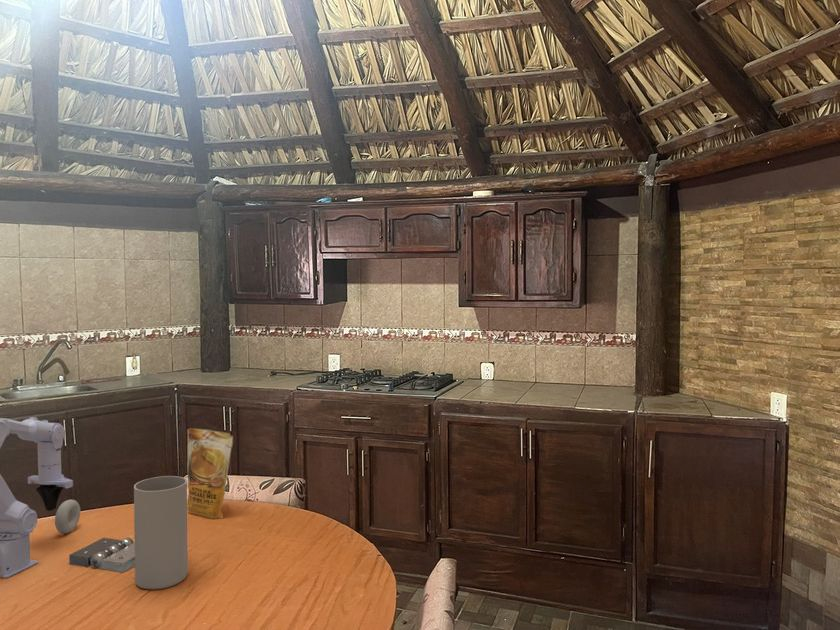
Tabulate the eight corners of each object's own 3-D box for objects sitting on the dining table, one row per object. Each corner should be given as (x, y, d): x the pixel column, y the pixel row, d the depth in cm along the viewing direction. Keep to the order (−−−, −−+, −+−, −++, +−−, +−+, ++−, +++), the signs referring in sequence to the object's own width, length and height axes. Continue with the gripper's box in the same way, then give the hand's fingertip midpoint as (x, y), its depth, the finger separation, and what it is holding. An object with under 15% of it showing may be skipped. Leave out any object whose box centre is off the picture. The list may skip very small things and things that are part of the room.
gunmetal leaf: (100, 568, 161) (100, 555, 161) (69, 563, 164) (69, 550, 163) (133, 550, 172) (133, 538, 172) (103, 546, 175) (103, 533, 175)
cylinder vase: (137, 572, 159) (136, 478, 158) (187, 565, 163) (187, 474, 163) (132, 594, 147) (131, 493, 146) (187, 586, 152) (186, 488, 151)
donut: (63, 539, 180) (63, 506, 179) (52, 538, 180) (51, 506, 180) (83, 526, 190) (82, 494, 189) (72, 526, 190) (71, 494, 190)
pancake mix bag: (195, 505, 209) (194, 425, 208) (235, 515, 200) (235, 431, 199) (179, 511, 203) (178, 429, 202) (220, 522, 194) (219, 436, 193)
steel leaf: (122, 573, 158) (122, 559, 158) (89, 567, 161) (88, 554, 161) (156, 553, 171) (155, 540, 170) (124, 548, 174) (124, 536, 173)
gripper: (81, 461, 177) (82, 507, 177) (42, 457, 181) (43, 501, 181) (60, 469, 170) (62, 516, 171) (20, 464, 174) (22, 510, 175)
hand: (51, 509), depth 176 cm, fingers closed
